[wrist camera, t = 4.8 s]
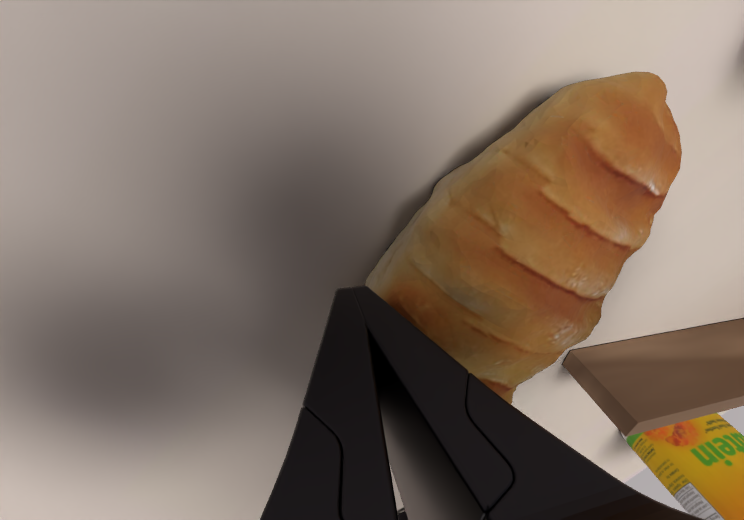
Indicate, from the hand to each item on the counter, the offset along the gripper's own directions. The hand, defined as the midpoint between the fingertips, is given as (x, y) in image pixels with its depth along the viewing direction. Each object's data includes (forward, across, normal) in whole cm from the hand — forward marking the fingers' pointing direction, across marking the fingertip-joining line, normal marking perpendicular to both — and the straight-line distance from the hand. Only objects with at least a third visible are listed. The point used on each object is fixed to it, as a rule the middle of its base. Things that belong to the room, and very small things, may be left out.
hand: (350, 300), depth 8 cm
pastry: (+2, -4, 0) cm, 5 cm away
